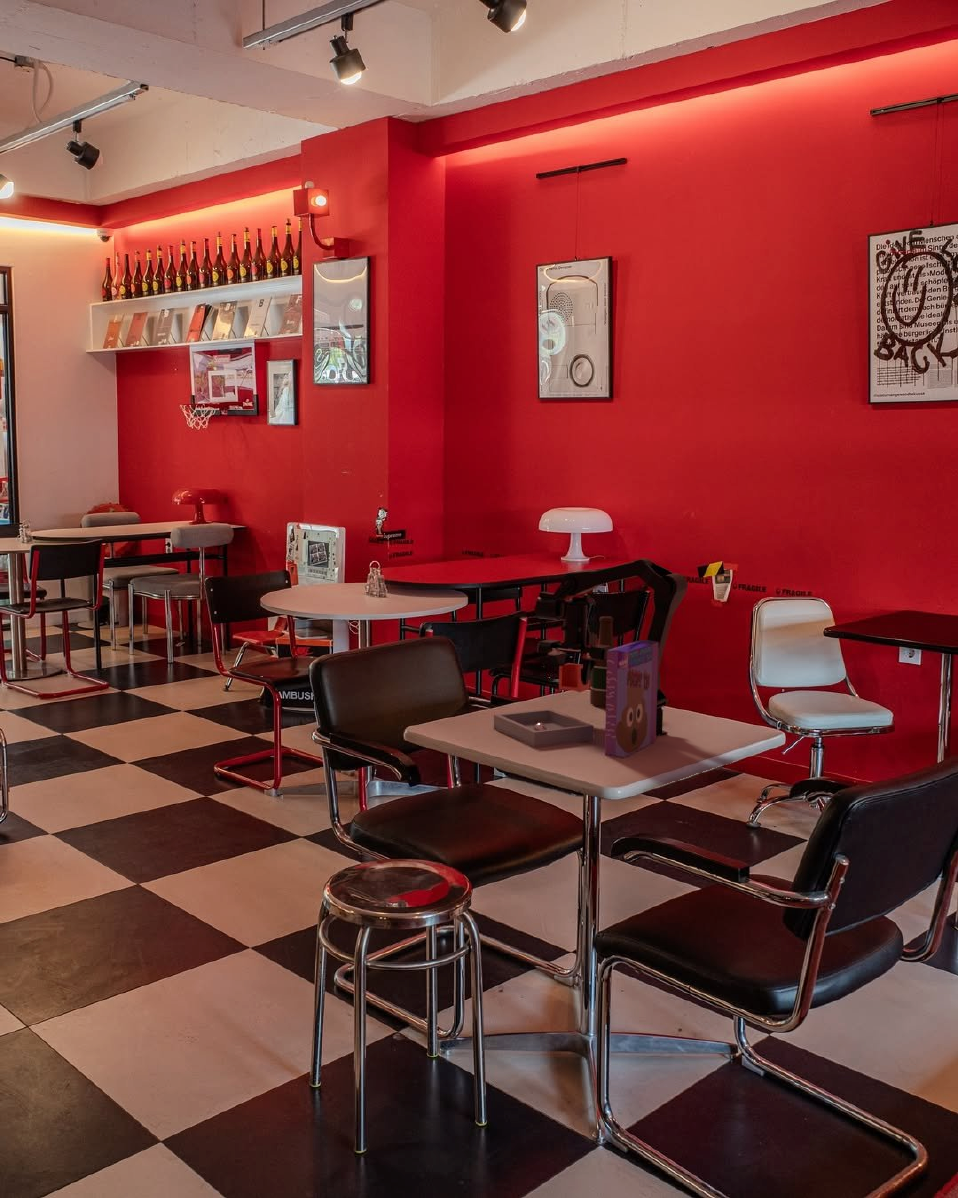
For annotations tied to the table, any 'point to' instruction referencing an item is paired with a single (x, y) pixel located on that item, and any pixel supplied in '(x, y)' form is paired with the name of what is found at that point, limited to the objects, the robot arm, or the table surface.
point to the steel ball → (540, 727)
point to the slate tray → (557, 732)
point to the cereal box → (631, 698)
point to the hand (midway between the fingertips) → (574, 683)
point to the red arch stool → (572, 677)
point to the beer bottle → (601, 665)
